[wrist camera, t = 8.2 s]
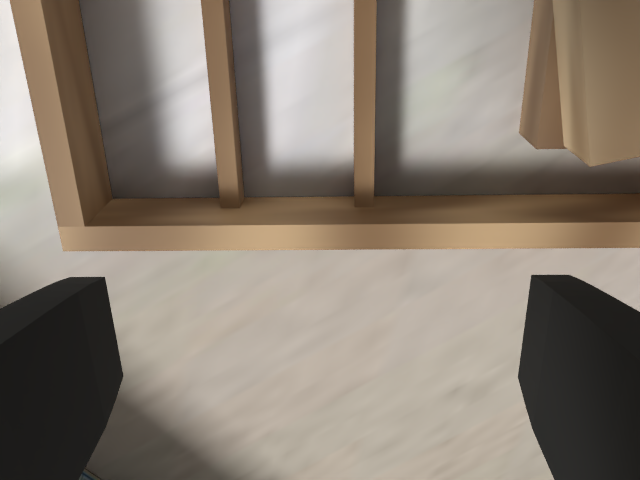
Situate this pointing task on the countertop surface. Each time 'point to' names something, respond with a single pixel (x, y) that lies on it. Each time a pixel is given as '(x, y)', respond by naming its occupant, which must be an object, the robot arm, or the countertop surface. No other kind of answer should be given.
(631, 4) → the offcut upper
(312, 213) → the tray
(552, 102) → the offcut lower
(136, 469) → the countertop surface
